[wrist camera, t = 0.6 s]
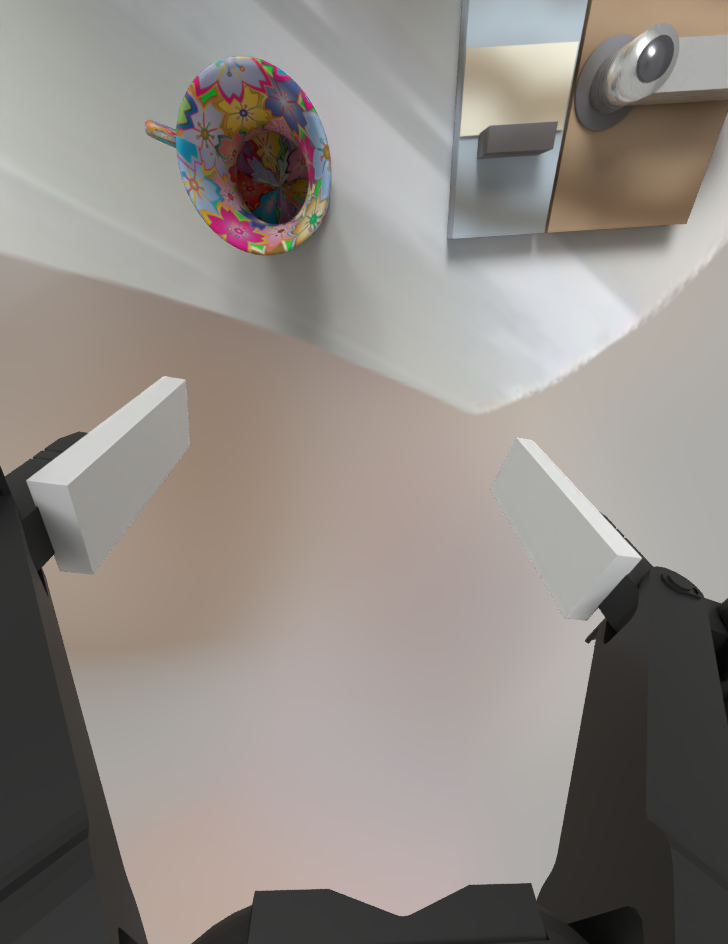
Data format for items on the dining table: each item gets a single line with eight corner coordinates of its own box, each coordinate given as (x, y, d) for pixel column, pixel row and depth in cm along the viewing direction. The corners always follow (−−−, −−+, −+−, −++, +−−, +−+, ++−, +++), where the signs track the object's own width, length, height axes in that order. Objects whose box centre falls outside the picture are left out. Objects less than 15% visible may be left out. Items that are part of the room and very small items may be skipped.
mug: (347, 140, 29) (348, 98, 20) (320, 264, 34) (312, 274, 25) (194, 74, 27) (120, -6, 18) (188, 218, 32) (127, 211, 23)
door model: (469, -116, 23) (494, -186, 19) (793, -134, 23) (881, -207, 19) (447, 238, 33) (459, 239, 30) (669, 224, 33) (710, 222, 30)
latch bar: (585, 114, 27) (623, 95, 23) (598, 52, 25) (641, 21, 22) (749, 104, 27) (812, 84, 24) (773, 42, 25) (845, 9, 22)
